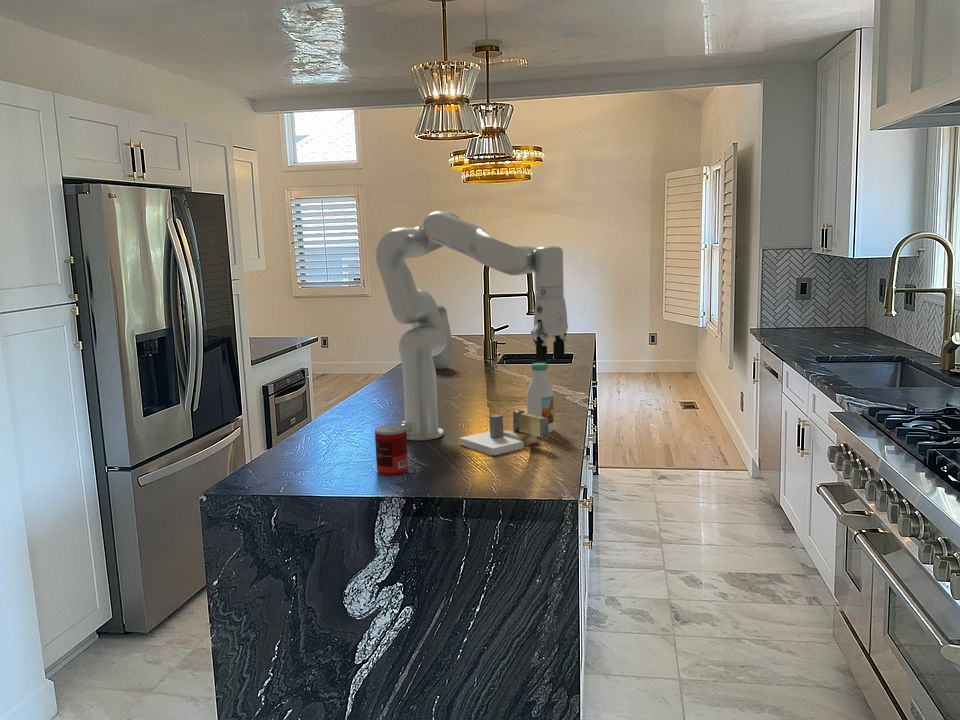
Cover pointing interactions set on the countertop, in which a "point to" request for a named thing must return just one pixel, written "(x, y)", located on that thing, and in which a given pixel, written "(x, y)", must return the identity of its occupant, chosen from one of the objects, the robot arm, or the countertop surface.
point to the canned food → (391, 450)
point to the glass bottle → (445, 356)
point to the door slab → (492, 439)
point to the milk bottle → (541, 395)
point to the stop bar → (530, 424)
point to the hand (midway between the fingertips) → (550, 357)
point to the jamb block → (520, 436)
